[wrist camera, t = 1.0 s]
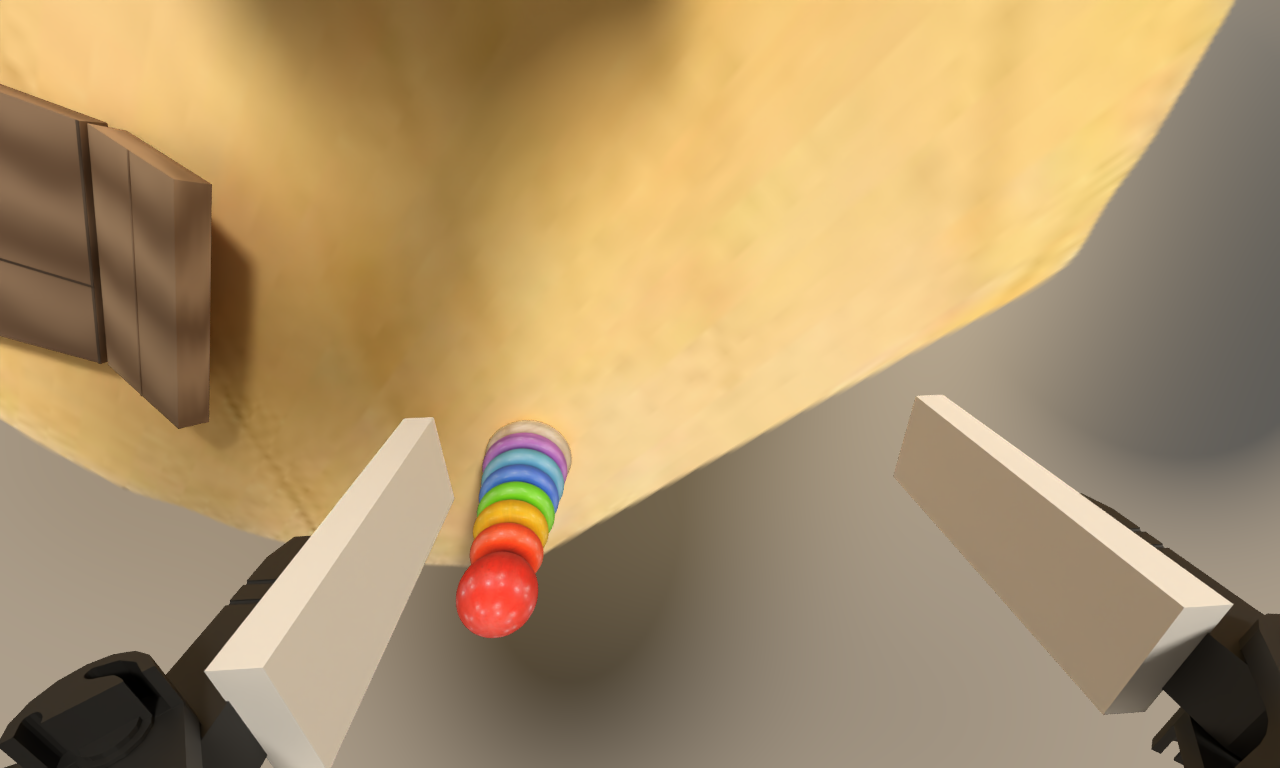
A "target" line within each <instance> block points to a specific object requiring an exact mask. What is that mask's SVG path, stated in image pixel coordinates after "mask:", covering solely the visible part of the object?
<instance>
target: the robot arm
mask: <svg viewBox="0 0 1280 768" xmlns="http://www.w3.org/2000/svg"><path fill="white" fill-rule="evenodd" d="M893 476H894V478H895V479H896V480H897V481H898V482H899V483H900V484H901V486H902V487H903V488H904V489H905V490H906V491H907V492H908V493H909V495H910V496H911V497H912V498H913V499H914V500H915V502H916V503H918V505H919V506H920V507H921V508H922V509H923V510H924V512H925V513H926V514H927V515H928V516H929V517H930V519H931V520H932V521H933V522H934V523H935V524H936V525H937V526H938V528H939V529H940V530H941V531H942V532H943V533H944V534H945V536H946V537H947V538H948V539H949V540H950V541H951V542H952V543H953V545H954V546H955V547H956V548H957V549H958V550H959V552H960V553H961V554H962V555H963V556H964V557H965V558H966V559H967V561H968V562H969V563H970V564H971V565H972V566H973V567H974V569H975V570H976V571H977V572H978V573H979V574H980V575H981V576H982V578H983V579H984V580H985V581H986V582H987V583H988V585H989V586H990V587H991V588H992V589H993V590H994V591H995V592H996V594H997V595H998V596H999V597H1000V598H1001V599H1002V600H1003V602H1004V603H1005V604H1006V605H1007V606H1008V607H1009V608H1010V610H1011V611H1012V612H1013V613H1014V614H1015V615H1016V616H1017V617H1018V618H1019V620H1020V621H1021V622H1022V623H1023V624H1024V625H1025V627H1026V628H1027V629H1028V630H1029V631H1030V632H1031V633H1032V635H1033V636H1034V637H1035V638H1036V639H1037V640H1038V641H1039V642H1040V644H1041V645H1042V646H1043V647H1044V648H1045V649H1046V650H1047V652H1048V653H1049V654H1050V655H1051V656H1052V657H1053V658H1054V660H1056V662H1057V663H1058V664H1059V665H1060V666H1061V667H1062V668H1063V670H1064V671H1065V672H1066V673H1067V674H1068V675H1069V676H1070V678H1071V679H1072V680H1073V681H1074V682H1075V683H1076V684H1077V686H1078V687H1079V688H1080V689H1081V690H1082V691H1083V692H1084V694H1085V695H1086V696H1087V697H1088V698H1089V699H1090V700H1091V702H1092V703H1093V704H1094V705H1095V706H1096V707H1097V708H1098V710H1099V711H1100V712H1101V713H1102V714H1103V715H1105V714H1106V715H1107V714H1120V713H1134V712H1145V711H1146V710H1147V709H1148V707H1149V706H1150V705H1151V704H1152V703H1153V701H1154V700H1155V699H1156V698H1157V697H1158V695H1159V694H1160V693H1161V692H1162V691H1163V690H1164V691H1165V692H1166V693H1167V694H1168V695H1169V696H1170V697H1171V698H1172V699H1173V700H1174V701H1175V702H1176V703H1178V704H1179V705H1180V706H1181V707H1180V708H1179V710H1178V711H1177V712H1176V713H1175V714H1174V715H1173V717H1171V719H1170V720H1169V721H1168V722H1167V723H1166V724H1165V725H1164V727H1163V728H1162V729H1161V730H1160V731H1159V732H1158V733H1157V734H1156V736H1155V737H1154V738H1153V740H1152V750H1154V751H1156V752H1159V753H1160V754H1161V753H1162V752H1163V751H1164V749H1165V748H1166V747H1167V746H1168V745H1169V744H1170V743H1171V742H1172V741H1177V742H1178V745H1179V749H1180V752H1179V753H1178V754H1177V755H1176V757H1174V761H1176V762H1178V763H1181V764H1182V765H1184V768H1280V614H1266V615H1264V614H1262V613H1261V612H1259V611H1258V610H1256V609H1255V608H1253V607H1252V606H1250V605H1249V604H1247V603H1246V602H1245V601H1243V600H1242V599H1240V598H1239V597H1238V596H1236V595H1234V594H1233V593H1232V592H1230V591H1229V590H1228V589H1226V588H1225V587H1223V586H1222V585H1220V584H1219V583H1218V582H1216V581H1215V580H1213V579H1212V578H1211V577H1209V576H1208V575H1206V574H1205V573H1203V572H1202V571H1201V570H1199V569H1198V568H1196V567H1195V566H1193V565H1192V564H1190V563H1189V562H1188V561H1186V560H1185V559H1184V558H1182V557H1180V556H1179V555H1178V554H1176V553H1175V552H1173V551H1172V550H1170V549H1169V548H1164V547H1163V545H1162V543H1161V542H1159V541H1158V540H1157V539H1155V538H1154V537H1152V536H1151V535H1149V534H1148V533H1147V532H1141V531H1140V528H1139V527H1138V526H1137V525H1135V524H1134V523H1132V522H1131V521H1129V520H1128V519H1127V518H1125V517H1124V516H1122V515H1121V514H1120V513H1118V512H1117V511H1115V510H1114V509H1112V508H1110V507H1108V506H1106V505H1104V504H1102V503H1100V502H1098V501H1096V500H1094V499H1092V498H1090V497H1088V496H1086V495H1084V494H1082V493H1078V492H1077V491H1076V490H1074V489H1073V488H1071V487H1070V486H1068V485H1067V484H1066V483H1064V482H1063V481H1062V480H1060V479H1059V478H1057V477H1056V476H1055V475H1053V474H1052V473H1051V472H1049V471H1048V470H1046V469H1045V468H1044V467H1042V466H1041V465H1039V464H1038V463H1037V462H1035V461H1034V460H1032V459H1031V458H1030V457H1028V456H1027V455H1026V454H1024V453H1023V452H1021V451H1020V450H1019V449H1017V448H1016V447H1014V446H1013V445H1012V444H1010V443H1009V442H1008V441H1006V440H1005V439H1003V438H1002V437H1001V436H999V435H997V434H996V433H995V432H994V431H992V430H991V429H989V428H988V427H987V426H985V425H984V424H982V423H981V422H980V421H978V420H977V419H976V418H974V417H973V416H971V415H970V414H969V413H967V412H966V411H964V410H963V409H962V408H960V407H959V406H957V405H956V404H955V403H953V402H952V401H951V400H949V399H948V398H946V397H945V396H944V395H931V396H930V395H929V396H916V398H915V401H914V405H913V408H912V412H911V415H910V419H909V422H908V426H907V429H906V433H905V437H904V440H903V444H902V447H901V451H900V454H899V457H898V461H897V465H896V468H895V472H894V475H893ZM453 501H454V495H453V491H452V487H451V483H450V479H449V475H448V472H447V468H446V464H445V460H444V456H443V452H442V448H441V444H440V440H439V436H438V432H437V429H436V425H435V421H434V417H426V418H404V419H403V420H402V422H401V423H400V424H399V426H398V427H397V428H396V429H395V431H394V432H393V433H392V434H391V436H390V437H389V438H388V439H387V441H386V442H385V443H384V445H383V446H382V447H381V448H380V450H379V451H378V452H377V453H376V455H375V456H374V457H373V458H372V460H371V461H370V462H369V463H368V465H367V466H366V467H365V469H364V470H363V471H362V472H361V474H360V475H359V476H358V477H357V479H356V480H355V481H354V482H353V484H352V485H351V486H350V488H349V489H348V490H347V491H346V493H345V494H344V495H343V496H342V498H341V499H340V500H339V501H338V503H337V504H336V505H335V506H334V508H333V509H332V510H331V512H330V513H329V514H328V515H327V517H326V518H325V519H324V520H323V522H322V523H321V524H320V525H319V527H318V528H317V529H316V531H315V532H314V533H313V534H312V536H300V537H294V538H292V539H291V540H289V541H288V542H287V543H285V544H284V545H283V546H281V547H280V548H279V549H277V550H276V551H275V552H274V553H272V554H271V555H269V556H268V557H267V558H266V559H265V560H264V561H263V563H262V564H261V565H260V566H259V567H258V568H257V569H256V571H255V572H254V573H253V574H252V575H251V577H250V578H249V579H248V580H247V584H246V585H243V586H242V587H241V588H240V589H239V590H238V592H237V593H236V594H235V595H234V596H233V598H232V599H231V600H230V604H229V605H227V606H225V607H224V608H223V609H222V610H221V611H220V613H219V614H218V615H217V616H216V617H215V618H214V620H213V621H212V622H211V623H210V624H209V625H208V627H207V628H206V629H205V630H204V631H203V632H202V633H201V635H200V636H199V637H198V638H197V639H196V640H195V642H194V643H193V644H192V645H191V646H190V647H189V649H188V650H187V651H186V652H185V653H184V654H183V656H182V657H181V658H180V659H179V660H178V662H177V663H176V664H175V665H174V666H173V667H172V668H171V670H170V671H169V672H168V673H167V674H166V675H165V674H164V673H163V671H162V670H161V669H160V667H159V666H158V665H157V664H156V663H155V661H154V660H153V659H152V657H151V656H150V655H148V654H145V653H141V652H137V651H132V652H126V653H119V654H113V655H110V656H108V657H105V658H103V659H100V660H97V661H95V662H92V663H90V664H87V665H85V666H83V667H82V668H80V669H78V670H77V671H74V672H73V673H71V674H69V675H67V676H66V677H64V678H62V679H60V680H58V681H57V682H56V683H54V684H53V685H52V686H50V687H49V688H48V689H46V690H45V691H44V692H42V693H41V694H40V695H38V696H37V697H36V698H34V699H33V700H32V701H31V702H29V703H28V705H26V707H25V708H24V709H23V710H22V711H21V712H20V713H19V714H18V715H17V716H16V717H15V718H14V719H13V720H12V721H11V722H10V723H9V724H8V726H7V728H6V730H5V731H4V733H3V735H2V737H1V738H0V749H1V750H3V751H4V752H5V753H6V754H7V755H8V756H10V757H11V758H12V759H13V760H14V761H16V762H17V764H14V765H11V766H8V767H5V768H260V767H261V765H262V764H263V762H264V760H265V758H267V759H268V760H269V762H270V763H271V765H272V766H273V767H274V768H331V766H332V764H333V762H334V760H335V758H336V756H337V753H338V751H339V749H340V747H341V745H342V743H343V740H344V738H345V736H346V734H347V732H348V729H349V727H350V725H351V723H352V721H353V718H354V716H355V714H356V712H357V710H358V707H359V705H360V703H361V701H362V699H363V697H364V695H365V692H366V690H367V688H368V686H369V684H370V681H371V679H372V677H373V675H374V673H375V671H376V668H377V666H378V664H379V662H380V660H381V657H382V655H383V653H384V651H385V649H386V647H387V644H388V642H389V640H390V638H391V636H392V634H393V631H394V629H395V627H396V625H397V623H398V621H399V618H400V616H401V614H402V612H403V609H404V607H405V605H406V603H407V601H408V598H409V597H410V594H411V592H412V590H413V588H414V586H415V583H416V581H417V579H418V577H419V575H420V573H421V570H422V568H423V566H424V564H425V562H426V559H427V557H428V555H429V553H430V551H431V549H432V546H433V544H434V542H435V540H436V538H437V535H438V533H439V531H440V529H441V527H442V525H443V522H444V520H445V518H446V516H447V514H448V511H449V509H450V507H451V505H452V503H453Z"/></svg>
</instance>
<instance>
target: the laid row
mask: <svg viewBox="0 0 1280 768" xmlns="http://www.w3.org/2000/svg"><path fill="white" fill-rule="evenodd" d="M87 123H89V124H94V125H99V126H104V127H107V123H105V122H103V121H100V120H97V119H95V118H92V117H89V116H86V115H84V114H81V113H78V112H75V111H73V110H70V109H67V108H64V107H62V106H59V105H56V104H54V103H51V102H48V101H45V100H43V99H40V98H37V97H34V96H32V95H29V94H26V93H23V92H21V91H18V90H15V89H13V88H10V87H7V86H4V85H2V84H0V336H2V337H6V338H9V339H13V340H17V341H20V342H24V343H28V344H31V345H35V346H39V347H42V348H46V349H50V350H53V351H57V352H61V353H64V354H68V355H72V356H75V357H79V358H83V359H86V360H90V361H94V362H97V363H99V364H102V363H105V362H107V361H108V358H107V347H106V335H105V323H104V312H103V300H102V288H101V277H100V265H99V253H98V242H97V230H96V218H95V207H94V195H93V184H92V172H91V160H90V149H89V137H88V125H87Z"/></svg>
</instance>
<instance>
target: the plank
mask: <svg viewBox="0 0 1280 768" xmlns="http://www.w3.org/2000/svg"><path fill="white" fill-rule="evenodd" d="M87 125H88V137H89V149H90V160H91V172H92V184H93V195H94V207H95V218H96V230H97V242H98V253H99V265H100V277H101V288H102V300H103V312H104V323H105V335H106V347H107V358H108V365H109V366H110V367H111V368H112V369H113V370H114V371H116V372H117V373H118V374H119V375H120V376H121V377H122V378H123V379H124V380H125V381H127V382H128V383H129V384H130V385H131V386H132V387H133V388H134V389H135V390H136V391H137V392H139V393H140V395H141V396H143V397H144V398H145V399H146V400H147V401H148V402H150V403H151V404H152V405H153V406H154V407H155V408H156V409H157V410H158V411H159V412H161V413H162V414H163V415H164V416H165V417H166V418H167V419H168V420H169V421H170V422H171V423H173V424H174V425H175V426H176V427H177V428H178V429H180V428H184V427H188V426H193V425H197V424H201V423H206V422H209V373H210V288H211V204H212V184H210V183H209V182H207V181H205V180H204V179H202V178H201V177H199V176H197V175H196V174H194V173H193V172H191V171H189V170H188V169H186V168H185V167H183V166H182V165H180V164H178V163H177V162H175V161H174V160H172V159H170V158H169V157H167V156H166V155H164V154H163V153H161V152H159V151H158V150H156V149H155V148H153V147H151V146H150V145H148V144H147V143H145V142H143V141H142V140H140V139H139V138H137V137H136V136H134V135H132V134H131V133H129V132H128V131H125V130H120V129H114V128H109V127H104V126H99V125H94V124H89V123H87Z"/></svg>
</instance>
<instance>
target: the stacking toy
mask: <svg viewBox="0 0 1280 768" xmlns="http://www.w3.org/2000/svg"><path fill="white" fill-rule="evenodd" d="M570 467H571V451H570V447H569V445H568V443H567V441H566V439H565V438H564V437H563V436H562V434H561V433H559V432H558V431H557V430H556V429H554V428H553V427H551V426H549V425H547V424H545V423H542V422H539V421H533V420H522V421H516V422H513V423H510V424H507V425H505V426H503V427H502V428H500V429H499V430H498V431H496V432H495V433H494V435H493V436H492V437H491V439H490V440H489V442H488V445H487V448H486V454H485V457H484V460H483V466H482V468H483V475H482V480H481V489H480V493H479V506H478V510H477V519H476V521H475V523H474V527H473V537H474V541H473V543H472V546H471V549H470V561H471V566H470V567H469V568H468V569H467V570H466V572H465V573H464V575H463V576H462V578H461V580H460V583H459V585H458V589H457V594H456V607H457V612H458V615H459V617H460V620H461V621H462V623H463V624H464V625H465V627H467V628H468V629H469V630H470V631H471V632H473V633H474V634H477V635H479V636H482V637H486V638H498V637H503V636H506V635H509V634H511V633H513V632H515V631H516V630H518V629H519V628H520V627H522V626H523V624H525V622H526V621H527V620H528V619H529V617H530V616H531V614H532V612H533V610H534V608H535V606H536V602H537V598H538V583H537V578H536V574H535V573H536V572H537V570H538V569H539V567H540V566H541V563H542V560H543V548H544V546H545V544H546V542H547V539H548V533H549V532H550V530H551V529H552V526H553V523H554V518H555V513H556V511H557V508H558V504H559V501H560V499H561V497H562V494H563V490H564V483H565V481H566V477H567V474H568V472H569V470H570Z"/></svg>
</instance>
